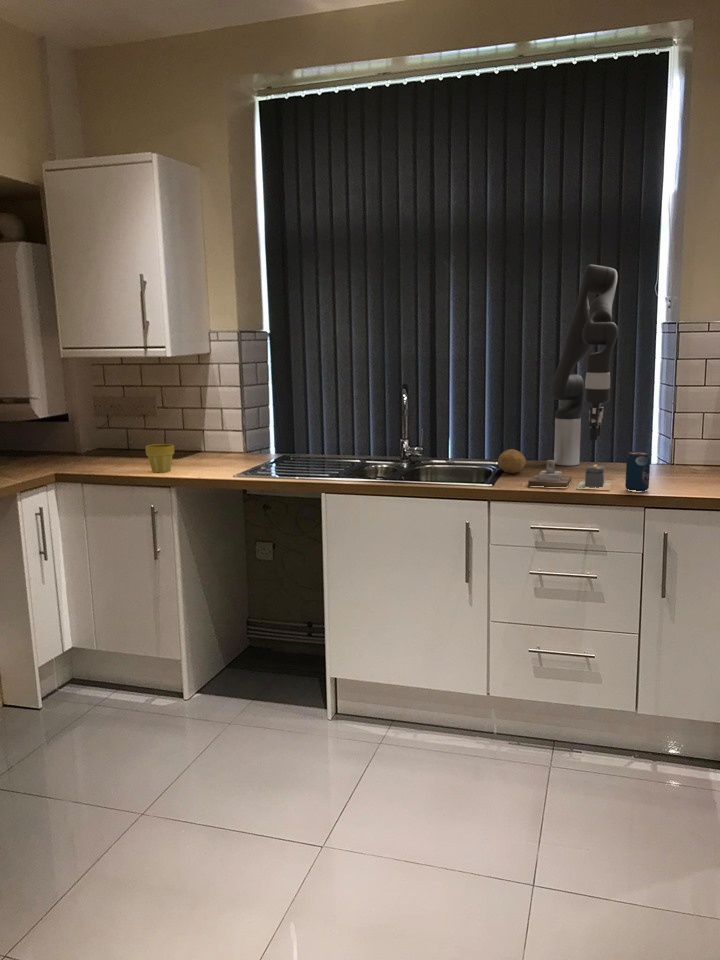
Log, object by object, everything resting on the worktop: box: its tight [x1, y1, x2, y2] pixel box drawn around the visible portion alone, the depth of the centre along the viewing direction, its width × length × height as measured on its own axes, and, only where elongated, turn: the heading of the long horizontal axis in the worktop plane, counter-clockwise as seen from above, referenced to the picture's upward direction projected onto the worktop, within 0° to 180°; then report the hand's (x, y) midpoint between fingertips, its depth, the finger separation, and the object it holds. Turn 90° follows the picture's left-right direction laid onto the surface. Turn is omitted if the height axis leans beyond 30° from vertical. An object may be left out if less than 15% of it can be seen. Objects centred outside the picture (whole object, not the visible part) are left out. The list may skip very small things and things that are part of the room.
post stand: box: [528, 459, 572, 487], centre depth 264 cm, size 12×12×8 cm
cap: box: [584, 464, 605, 487], centre depth 259 cm, size 6×6×6 cm
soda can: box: [624, 451, 651, 491], centre depth 252 cm, size 7×7×12 cm
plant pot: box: [144, 443, 175, 473], centre depth 301 cm, size 10×10×10 cm
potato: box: [497, 448, 527, 474], centre depth 286 cm, size 10×14×8 cm
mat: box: [576, 481, 613, 488], centre depth 259 cm, size 10×10×1 cm
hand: (595, 438), depth 257 cm, fingers open, 8 cm apart
